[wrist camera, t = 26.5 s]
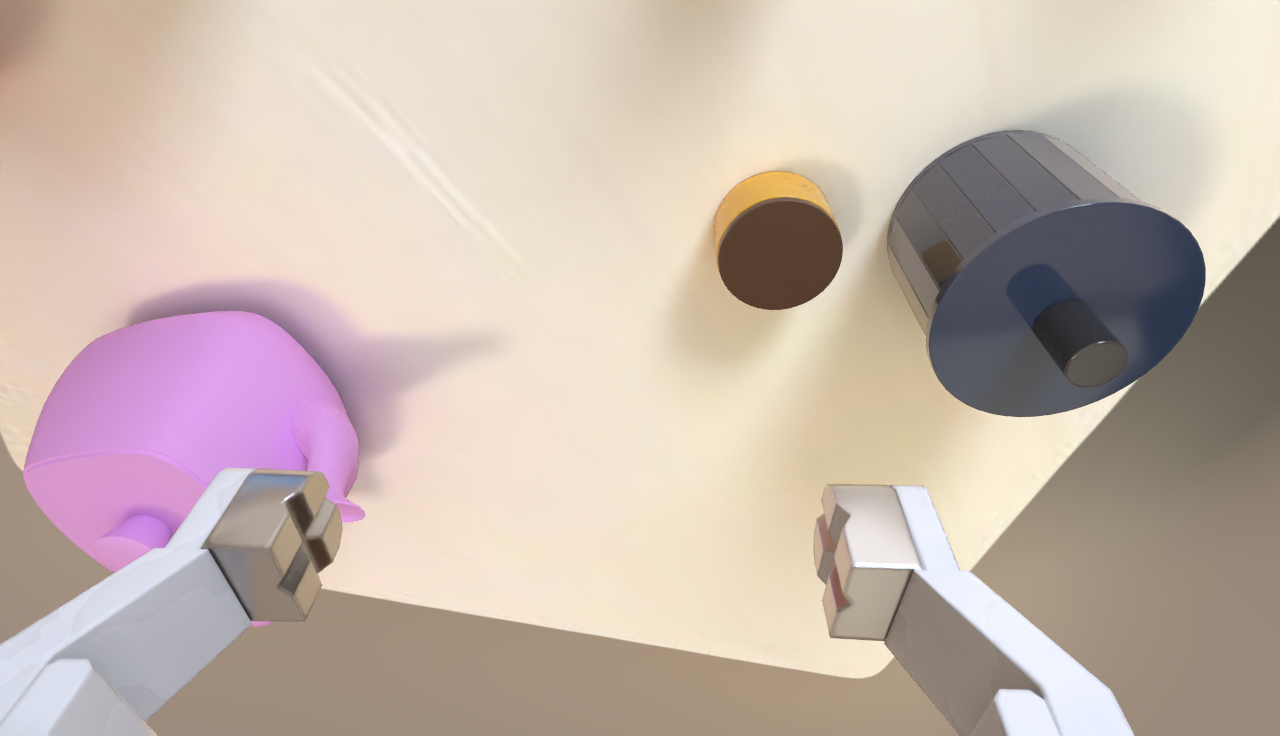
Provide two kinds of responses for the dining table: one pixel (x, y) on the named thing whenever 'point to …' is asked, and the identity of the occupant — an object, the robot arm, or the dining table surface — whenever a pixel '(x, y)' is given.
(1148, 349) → the lid
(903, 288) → the pot
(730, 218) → the tin
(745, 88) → the dining table surface
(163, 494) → the teapot
